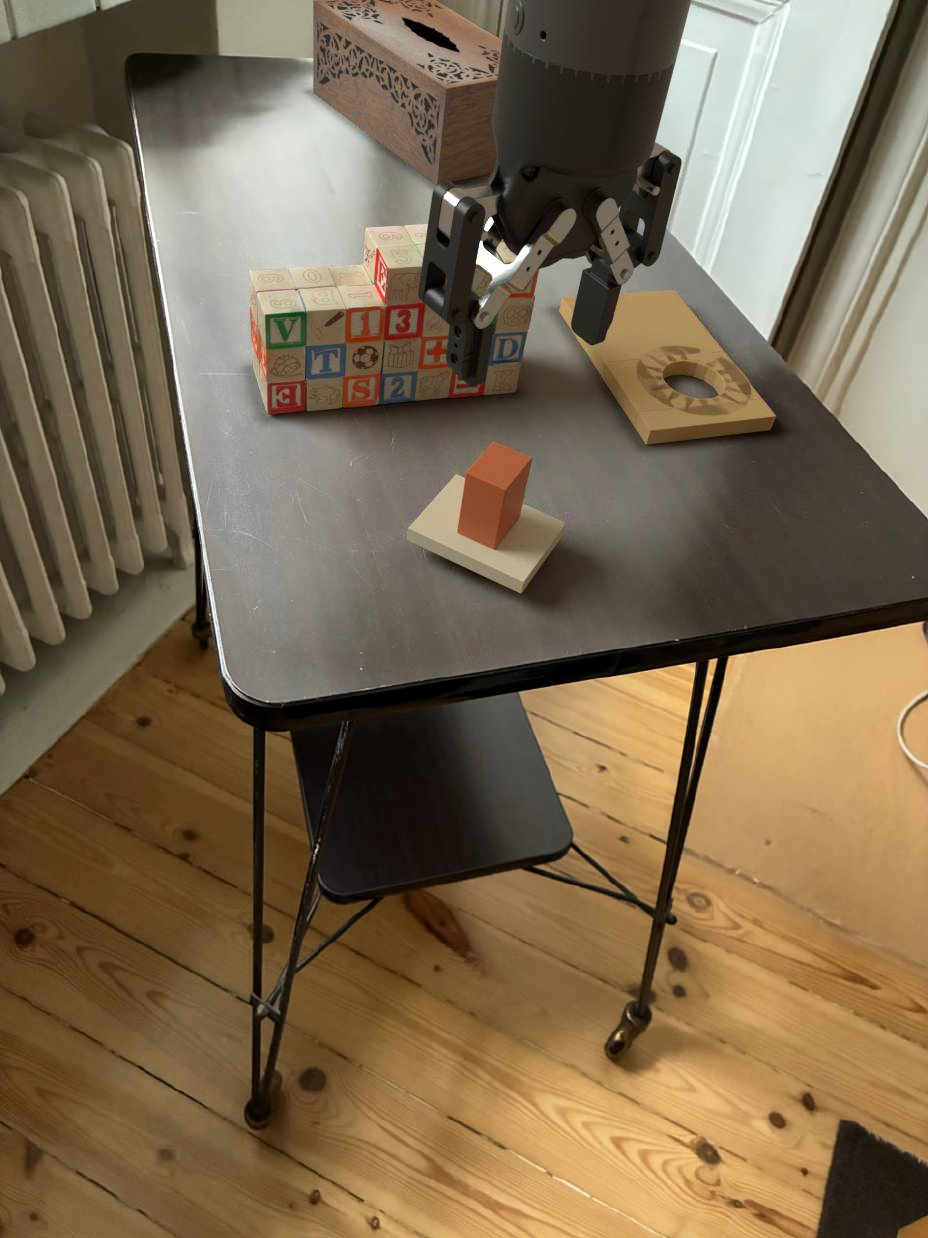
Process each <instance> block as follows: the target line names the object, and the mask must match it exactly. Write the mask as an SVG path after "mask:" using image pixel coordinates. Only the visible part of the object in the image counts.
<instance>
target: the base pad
mask: <svg viewBox="0 0 928 1238" xmlns="http://www.w3.org/2000/svg"><path fill="white" fill-rule="evenodd" d="M576 298H577V296H565V297H561V300H560V305H559V310H558V312H559V313H560V315H561V317H562V319H563V320H564V322H565V323H566V325H567V326H568V327H569V329H570V331H571V332H572V333H573V335H574V337H575V338H576V340H577V342H578V343H579V344H580V346H581V347H582V349H583V351H584V352H585V353H586V355H587V357H588V358H589V360H590V361H591V363H592V364H593V366H594V368H596V370H597V372H598V373H599V375H600V377H601V378H602V380H603V381H604V383H605V384H606V386H607V388H608V389H609V391H610V393H612V395H613V397H614V398H615V399H616V401H617V403H618V404H619V406H620V407H621V409H622V411H623V412H624V413H625V415H626V417H627V419H628V420H629V421H630V423H631V424H632V426H633V427H634V428H635V430H636V432H637V433H638V435H639V437H640V438H641V440H642V441H643V442H644V444H645V445H646V446H647V445H648V446H649V445H655V444H656V445H657V444H664V443H665V444H666V443H673V442H680V441H689V440H698V439H706V438H707V439H708V438H715V437H716V438H717V437H722V436H723V437H724V436H730V435H731V436H732V435H741V434H749V433H757V432H765V431H767V432H768V431H771V430H772V428H773V425H774V423H775V420H776V418H777V415H776V414H775V412H774V411H773V410H772V409H771V407H770V406H769V405H768V404H767V402H766V401H765V399H764V398H763V397H762V396H761V395H760V394H759V392H758V391H757V390H756V389H755V387H754V386H753V385H752V384H751V381H750V379H748V377H747V375H746V374H745V373H744V372H743V371H742V370H741V369H740V367H739V366H737V365H736V363H735V362H734V361H733V360H732V358H730V356H729V355H728V353H726V352H725V350H724V349H723V348H722V347H721V346H720V344H719V343H718V342H717V340H716V339H715V338H714V337H713V335H712V334H711V333H710V332H709V330H708V329H707V327H705V325H704V323H702V322H701V320H700V319H699V318H698V317H697V315H696V314H695V313H694V312H693V311H692V309H691V308H690V307H689V305H688V304H687V303H686V301H684V299H683V298H682V297H681V295H680V294H679V292H677V290H675V289H667V290H666V289H665V290H653V291H640V292H639V291H636V292H623V293H620V294H619V298H618V302H617V306H616V309H615V312H614V317H613V321H612V323H611V325H610V327H609V329H608V331H607V334H606V338H605V340H604V341H603V342H602V343H599V344H596V345H593V346H591V345H589V344H588V343H586V342H585V341H584V340H583V339H581V338H580V337H579V336H578V335H576V334H575V333H574V332H573V330H572V328H571V320H572V316H573V311H574V307H575V302H576ZM670 376H686V377H692V378H695V379H698V380H700V381H703V382H705V383H706V384H708V386H711V387H712V388H713V389H714V390H715V392H716V393H717V395H716V396H714V397H709V398H699V397H691V396H689V395H685V394H683V393H681V392H677V390H675V389H674V388H672V387H671V386H670V385H668V383H667V382H666V380H665V379H666V378H669V377H670Z"/></svg>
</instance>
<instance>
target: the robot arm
mask: <svg viewBox="0 0 928 1238" xmlns="http://www.w3.org/2000/svg"><path fill="white" fill-rule="evenodd" d="M691 3H692V0H507V3H506V11H505V18H504V25H503V34H502V48H501V55H500V63H499V70H498V78H497V86H496V93H495V101H494V108H493V116H492V128H493V133H494V137H495V142H496V148H497V161H496V164H495V167H494V169H493V172H492V173H490V176H489V178H488V179H487V181H486V184H485V185H483V186H476V187H471V188H464V189H461V188H460V187H458V185H456V184H455V183H454V182H450V181H449V180H444V181H441V182H440V183H438V184H437V185H435V187H434V188H433V190H432V194H431V199H430V201H431V202H430V208H429V213H428V220H427V224H428V228H427V235H426V242H425V249H424V256H423V263H422V270H421V276H420V283H419V290H418V296H419V299H420V300H421V301H422V302H424V303H425V304H426V305H427V306H428V307H429V308H431V309H432V310H433V311H434V312H435V313H436V314H437V315H439V316H440V317H441V318H442V319H443V320H444V321H445V322H447V323H448V324H449V325H450V326H449V335H448V343H447V351H446V361H447V364H448V366H449V367H450V368H451V369H452V370H453V371H454V372H455V374H457V375H458V376H459V377H460V378H461V379H462V380H463V381H464V382H465V383H467V384H468V385H469V386H470V387H474V386H477V385H480V384H482V383H484V382H485V381H486V376H487V369H488V363H489V357H490V350H491V344H492V338H493V332H494V324H492V323H491V322H492V321H493V319H494V318H495V317H496V315H497V314H498V312H499V311H500V309H501V308H502V306H503V305H504V303H505V302H506V301H507V299H508V298H509V296H510V295H511V294H512V293H519V292H521V291H523V290H524V289H525V287H526V286H527V284H528V283H529V281H530V280H531V279H532V277H533V276H534V274H535V273H536V271H537V270H538V269H539V270H540V269H544V268H548V267H551V266H553V265H554V264H556V263H558V262H559V261H561V260H564V259H565V260H566V259H567V260H575V259H579V258H582V257H585V258H586V261H587V263H589V264H590V265H591V266H590V267H586V268H583V269H582V272H581V276H580V280H579V285H578V290H577V295H576V297H577V298H576V302H575V307H574V311H573V316H572V320H571V328H572V330H573V332H574V333H575V334H576V335H578V336H579V337H580V338H581V339H583V340H584V341H585V342H586V343H588V344H589V345H591V346H593V345H596V344H599V343H602V342H603V341H604V340H605V338H606V334H607V331H608V329H609V327H610V325H611V323H612V321H613V317H614V312H615V309H616V306H617V302H618V298H619V294H621V291H622V287H623V285H624V284H626V283H627V282H628V281H630V279H631V278H632V276H633V275H634V271H635V269H636V268H637V267H639V266H640V265H643V266H645V267H647V268H649V267H651V266H653V265H654V264H655V263H656V262H657V261H658V259H659V258H660V256H661V252H662V248H663V243H664V239H665V234H666V231H667V228H668V227H667V226H668V222H669V218H670V215H671V210H672V207H673V202H674V198H675V194H676V190H677V185H678V181H679V177H680V173H681V169H682V165H683V162H682V158H681V157H680V156H679V155H676V154H675V153H673V152H672V151H671V150H670V149H668V148H666V147H665V146H663V145H662V144H660V143H658V142H657V141H656V139H657V137H658V133H659V128H660V124H661V121H662V116H663V112H664V108H665V105H666V101H667V98H668V93H669V90H670V86H671V83H672V82H671V81H672V78H673V73H674V70H675V66H676V62H677V59H678V54H679V51H680V46H681V43H682V40H683V35H684V31H685V28H686V23H687V20H688V16H689V12H690V8H691ZM640 219H641V220H642V221H643V224H644V228H643V233H639V232H638V229H639V224H640ZM502 239H503V241H504V243H505V244H506V246H507V248H508V249H509V250H510V251H511V252H512V253H514V254H515V255H516V256H517V257H516V259H515V260H514V261H513V262H512V263H510V264H504V263H503V262H502V261H500V260H499V259H498V258H497V256H496V249H497V247H498V245H499V244H500V242H501V241H502ZM490 273H491V275H492V281H491V283H490V284H489V286H488V287H487V289H486V290H485V292H484V293H483V295H482V296H481V297H480V296H478V295H477V294H476V293H475V292H476V290H477V289H478V287H479V286H480V284H481V283H482V281H483V280H484V278H485V277H486V276H487V275H488V274H490ZM446 277H447V283H446V284H445V280H446ZM572 330H571V331H572ZM573 332H572V333H573Z"/></svg>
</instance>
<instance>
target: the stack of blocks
mask: <svg viewBox="0 0 928 1238" xmlns="http://www.w3.org/2000/svg"><path fill="white" fill-rule="evenodd" d="M427 228H428V223H420V224H406V225H390V226H388V225H387V226H368V227H365V229H364V230H365V232H364V246H363V247H364V248H363V258H362V259H363V261H362V263H361V264H359V263H358V264H345V265H331V266H326V265H319V266H318V265H317V266H302V267H289V268H273V269H271V268H270V269H267V268H266V269H252V270H248V284H249V286H248V287H249V288H248V289H249V316H250V317H249V321H250V324H249V325H250V339H251V351H252V367H253V372H254V376H255V379H256V382H257V385H258V388H259V389H258V390H259V391H260V397H261V401H262V402H263V405H264V408H265V412H266V413H267V415H273V414H274V415H275V414H284V413H295V412H304V411H307V412H315V411H325V410H335V409H341V408H344V409H345V408H356V407H367V406H368V407H371V406H377V405H386V404H395V403H404V402H405V403H406V402H413V401H425V400H426V401H427V400H437V399H446V398H450V399H451V398H452V399H453V398H465V397H467V398H468V397H477V396H478V397H479V396H490V395H491V396H493V395H504V394H513V393H516V391H517V389H518V383H519V378H520V374H521V369H522V360H523V356H524V352H525V347H526V346H525V345H526V342H527V337H528V333H529V329H530V326H531V322H532V316H533V311H534V308H535V301H536V295H535V292H536V289H537V282H538V278H539V273H540V269H538V270H537V271H536V273H535V274H534V276H533V277H532V279H531V280H530V281H529V283H528V284H527V286H526V287H525V289H524V290H523V291H521V292H519V293H512V294H511V295H510V296H509V298H508V299H507V301H506V302H505V303H504V305H503V306H502V308H501V309H500V311H499V312H498V314H497V315H496V317H495V318H494V319H493V321H492V322H491V323H492V324H494V332H493V338H492V344H491V350H490V357H489V363H488V369H487V376H486V381H485V382H484V383H482V384H480V385H477V386H474V387H470V386H469V385H468V384H467V383H465V382H464V381H463V380H462V379H461V378H460V377H459V376H458V375H457V374H455V372H454V371H453V370H452V369H451V368H450V367H449V366H448V364H447V361H446V351H447V343H448V335H449V326H450V325H449V324H448V323H447V322H445V321H444V320H443V319H442V318H441V317H440V316H439V315H437V314H436V313H435V312H434V311H433V310H432V309H431V308H429V307H428V306H427V305H426V304H425V303H424V302H422V301H421V300H420V299H419V296H418V290H419V283H420V276H421V270H422V263H423V256H424V249H425V242H426V235H427ZM496 256H497V258H498V259H499V260H500V261H502V262H503V263H504V264H510V263H512V262H513V261H514V260H515V259H516V257H517V256H516V255H515V254H514V253H512V252H511V251H510V250H509V249H508V248H507V246H506V244H505V243H504V241H503V239H502V241H501V242H500V244H499V245H498V247H497V249H496ZM491 281H492V275H491V273H490V274H488V275H487V276H486V277H485V278H484V280H483V281H482V283H481V284H480V286H479V287H478V289H477V290H476V292H475V293H476V294H477V295H478V296H480V297H481V296H482V295H483V293H484V292H485V290H486V289H487V287H488V286H489V284H490V283H491ZM446 283H447V277H446V280H445V284H446Z"/></svg>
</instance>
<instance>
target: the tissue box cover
mask: <svg viewBox="0 0 928 1238" xmlns="http://www.w3.org/2000/svg"><path fill="white" fill-rule="evenodd" d="M312 2H313V4H312V5H313V6H312V7H313V8H312V9H313V10H312V12H313V13H312V14H313V16H312V17H313V19H312V20H313V21H312V23H313V24H312V25H313V26H312V28H313V29H312V32H313V35H312V37H313V38H312V43H313V44H312V59H313V60H312V93H313V94H314V95H315V96H317V97H318V98H319V99H320V100H322V101H323V102H324V103H326V104H327V105H328V106H330V107H332V108H333V109H334V110H336V111H337V112H338V113H340V114H341V115H342V116H343V117H345V118H346V119H347V120H349V121H350V122H351V123H353V124H354V125H355V126H356V127H358V128H359V129H361V130H362V131H363V132H364V133H366V134H367V135H369V136H370V137H371V138H373V139H374V140H375V141H377V142H378V143H380V144H381V146H383V147H385V148H386V149H387V150H389V151H390V152H391V153H392V154H394V155H395V156H397V157H398V158H399V159H401V160H402V161H404V163H406V164H407V165H409V166H410V167H411V168H413V169H414V170H415V171H417V172H418V173H419V174H421V175H422V176H423V177H424V178H426V179H427V180H428V181H430V182H431V183H432V184H434V185H435V186H437V184H438V183H440V182H441V181H444V180H449V181H450V182H452V183H455V182H459V181H463V180H468V179H472V178H477V177H481V176H485V175H491V174H492V172H493V169H494V167H495V164H496V161H497V148H496V142H495V137H494V133H493V128H492V116H493V108H494V101H495V93H496V86H497V78H498V70H499V63H500V55H501V48H502V40H503V38H500V37H499V36H497V35H496V34H494V33H492V32H491V31H489V30H487V29H485V28H484V27H482V26H481V25H479V24H477V23H476V22H474V21H472V20H471V19H469V18H467V17H466V16H463V15H462V14H460V13H459V12H457V11H455V10H453V9H452V8H450V7H449V6H448V5H445V4H443V3H442V2H440V1H439V0H313V1H312Z"/></svg>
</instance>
